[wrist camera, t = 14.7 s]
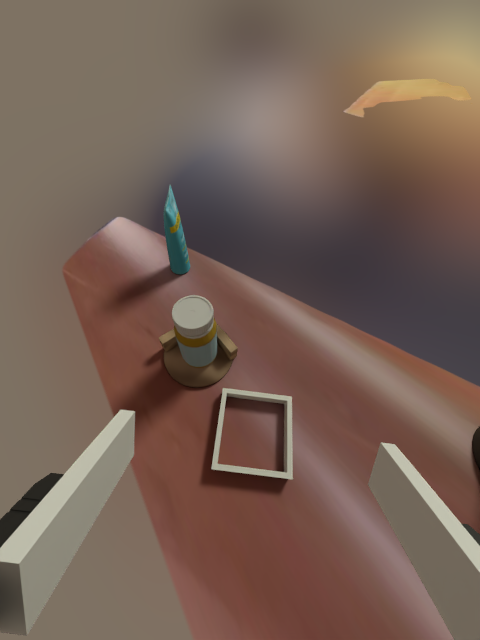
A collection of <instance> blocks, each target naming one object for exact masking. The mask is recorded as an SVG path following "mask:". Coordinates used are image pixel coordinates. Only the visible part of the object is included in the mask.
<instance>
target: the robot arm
mask: <svg viewBox="0 0 480 640" xmlns="http://www.w3.org/2000/svg"><path fill="white" fill-rule="evenodd" d="M134 432H135V411H128V410H120V411H119V412H118V413H117V414H116V416H115V417H114V418H113V419H112V420H111V421H110V423H109V424H108V425H107V426H106V427H105V428H104V429H103V431H102V432H101V433H100V434H99V435H98V436H97V437H96V439H95V440H94V441H93V442H92V443H91V444H90V446H89V447H88V448H87V449H86V450H85V451H84V452H83V453H82V455H81V456H80V457H79V458H78V459H77V460H76V462H75V463H74V464H73V465H72V466H71V467H70V468H69V470H68V471H67V472H66V473H65V474H56V473H50V474H49V475H47V476H46V477H45V478H43V479H41V480H40V481H38V482H37V483H35V484H34V485H33V487H31V489H30V490H29V491H28V492H27V493H26V494H25V495H24V496H23V497H22V499H21V500H19V501H18V502H17V503H16V504H15V505H14V506H13V507H12V508H11V509H10V511H9V512H8V513H6V514H5V515H4V516H3V517H2V518H1V520H0V632H2V633H9V634H18V635H26V636H27V635H28V633H29V631H30V630H31V628H32V626H33V625H34V623H35V621H36V619H37V618H38V616H39V614H40V613H41V611H42V609H43V608H44V606H45V604H46V603H47V601H48V599H49V597H50V596H51V594H52V592H53V591H54V589H55V587H56V586H57V584H58V582H59V581H60V579H61V577H62V576H63V574H64V572H65V570H66V569H67V567H68V565H69V564H70V562H71V560H72V559H73V557H74V555H75V554H76V552H77V550H78V549H79V547H80V545H81V543H82V542H83V540H84V538H85V537H86V535H87V533H88V532H89V530H90V528H91V526H92V524H93V523H94V521H95V520H96V518H97V516H98V515H99V513H100V511H101V510H102V508H103V506H104V505H105V503H106V501H107V499H108V498H109V496H110V495H111V493H112V491H113V489H114V488H115V486H116V484H117V483H118V481H119V479H120V478H121V476H122V474H123V473H124V471H125V469H126V468H127V466H128V464H129V462H130V461H131V459H132V457H133V456H134ZM473 450H474V455H475V459H476V462H477V464H478V467H479V469H480V427H479V428H478V429H477V430H476V432H475V435H474V439H473ZM368 486H369V487H370V489H371V491H372V493H373V495H374V496H375V498H376V500H377V502H378V504H379V505H380V507H381V509H382V511H383V513H384V514H385V516H386V518H387V520H388V522H389V523H390V525H391V527H392V529H393V531H394V532H395V534H396V536H397V538H398V540H399V541H400V543H401V545H402V547H403V548H404V550H405V552H406V554H407V556H408V557H409V559H410V561H411V563H412V565H413V566H414V568H415V570H416V572H417V574H418V575H419V577H420V579H421V581H422V583H423V584H424V586H425V588H426V590H427V592H428V593H429V595H430V597H431V599H432V601H433V602H434V604H435V606H436V608H437V609H438V611H439V613H440V615H441V617H442V618H443V620H444V622H445V624H446V626H447V627H448V629H449V631H450V633H451V635H452V636H453V638H454V640H480V534H478V533H477V532H476V531H475V530H474V529H472V528H471V527H470V526H469V525H468V524H461V523H460V522H459V521H458V519H457V518H456V517H455V516H454V515H453V513H452V512H451V511H450V510H449V509H448V507H447V506H446V505H445V504H444V503H443V501H442V500H441V499H440V498H439V497H438V495H437V494H436V493H435V492H434V491H433V489H432V488H431V487H430V486H429V485H428V483H427V482H426V481H425V480H424V479H423V477H422V476H421V475H420V474H419V473H418V471H417V470H416V469H415V468H414V467H413V465H412V464H411V463H410V462H409V461H408V459H407V458H406V457H405V456H404V455H403V453H402V452H401V451H400V450H399V449H398V447H397V446H396V445H395V444H388V443H380V447H379V450H378V453H377V457H376V460H375V463H374V467H373V470H372V473H371V477H370V480H369V483H368Z"/></svg>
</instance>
